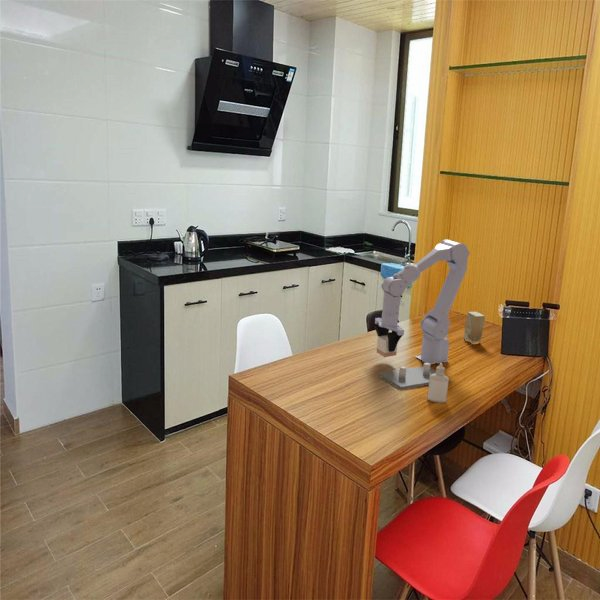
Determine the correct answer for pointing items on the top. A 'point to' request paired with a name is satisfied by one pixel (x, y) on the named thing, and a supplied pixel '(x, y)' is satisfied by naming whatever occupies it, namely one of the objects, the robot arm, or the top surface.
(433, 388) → the eye dropper bottle
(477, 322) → the skincare box
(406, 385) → the pin board
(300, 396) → the top surface
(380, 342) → the sleeve
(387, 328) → the robot arm
